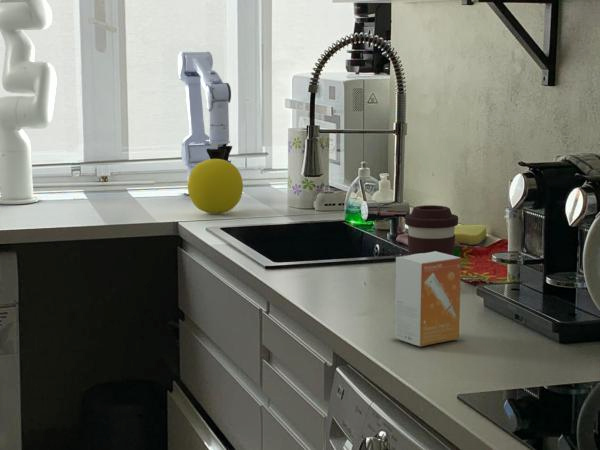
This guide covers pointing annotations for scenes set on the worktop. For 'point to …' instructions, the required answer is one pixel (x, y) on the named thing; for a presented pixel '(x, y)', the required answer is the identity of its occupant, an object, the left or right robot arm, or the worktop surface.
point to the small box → (427, 298)
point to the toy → (215, 186)
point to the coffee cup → (431, 230)
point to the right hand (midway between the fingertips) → (220, 171)
